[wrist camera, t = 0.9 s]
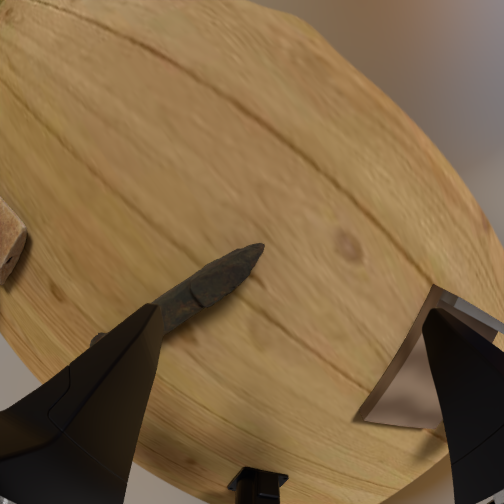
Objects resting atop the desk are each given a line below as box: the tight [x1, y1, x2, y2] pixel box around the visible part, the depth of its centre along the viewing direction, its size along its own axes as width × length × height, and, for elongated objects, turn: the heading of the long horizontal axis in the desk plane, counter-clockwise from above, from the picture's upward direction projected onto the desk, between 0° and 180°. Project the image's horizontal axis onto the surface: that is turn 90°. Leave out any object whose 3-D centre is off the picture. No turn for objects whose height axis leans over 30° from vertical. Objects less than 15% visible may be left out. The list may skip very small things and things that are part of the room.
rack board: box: [359, 284, 504, 429], centre depth 24 cm, size 16×13×4 cm
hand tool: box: [90, 243, 265, 347], centre depth 23 cm, size 19×4×5 cm, turn 122°
